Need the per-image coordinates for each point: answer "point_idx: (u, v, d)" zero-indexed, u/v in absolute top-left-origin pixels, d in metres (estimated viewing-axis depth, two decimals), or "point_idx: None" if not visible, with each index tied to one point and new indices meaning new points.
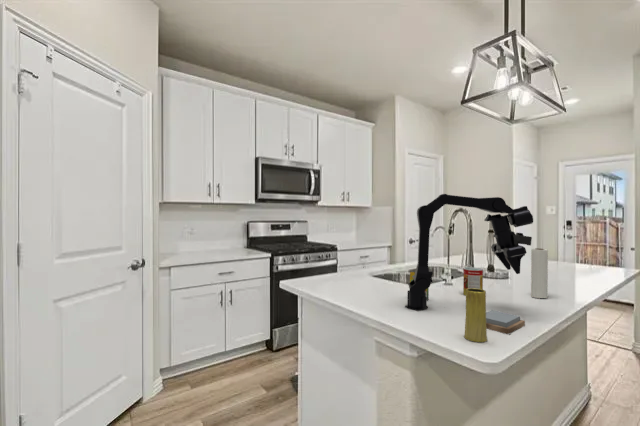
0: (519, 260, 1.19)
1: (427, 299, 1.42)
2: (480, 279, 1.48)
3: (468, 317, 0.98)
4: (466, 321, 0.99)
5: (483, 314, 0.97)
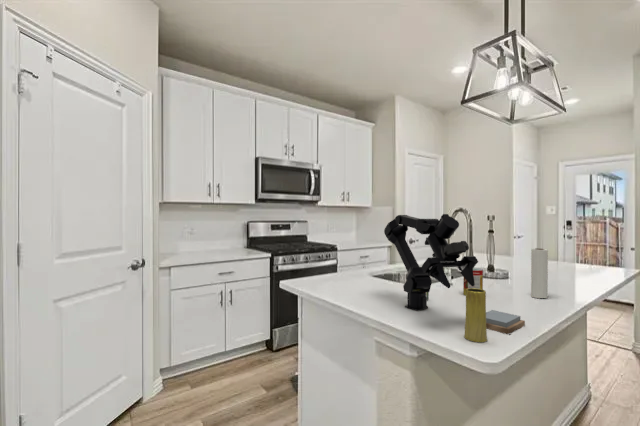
0: (440, 273, 1.08)
1: (427, 299, 1.42)
2: (480, 279, 1.48)
3: (468, 317, 0.98)
4: (466, 321, 0.99)
5: (483, 314, 0.97)
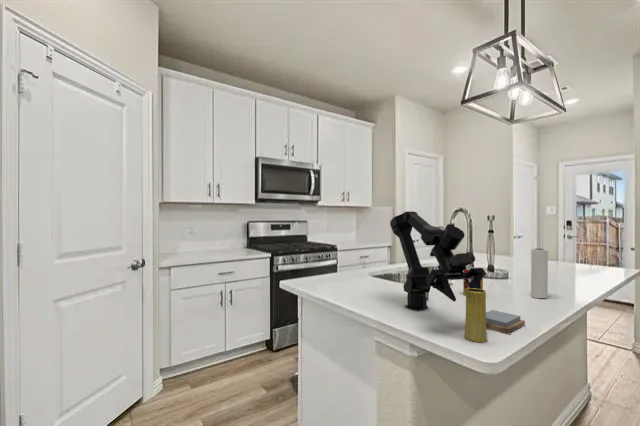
0: (445, 285, 1.03)
1: (427, 299, 1.42)
2: None
3: (468, 317, 0.98)
4: (466, 321, 0.99)
5: (483, 314, 0.97)
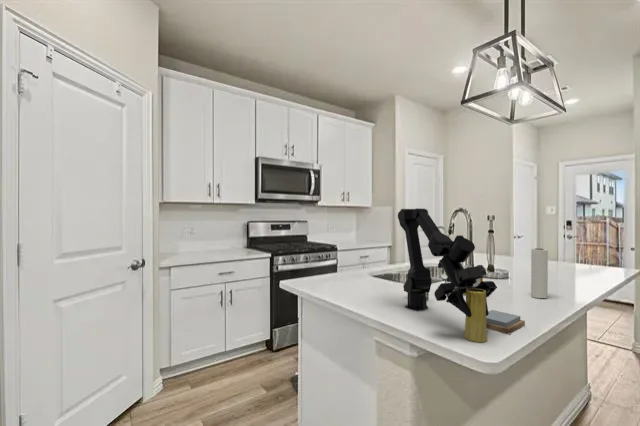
0: (459, 300, 0.99)
1: (427, 299, 1.42)
2: (480, 279, 1.48)
3: (468, 317, 0.98)
4: (466, 321, 0.99)
5: (483, 314, 0.97)
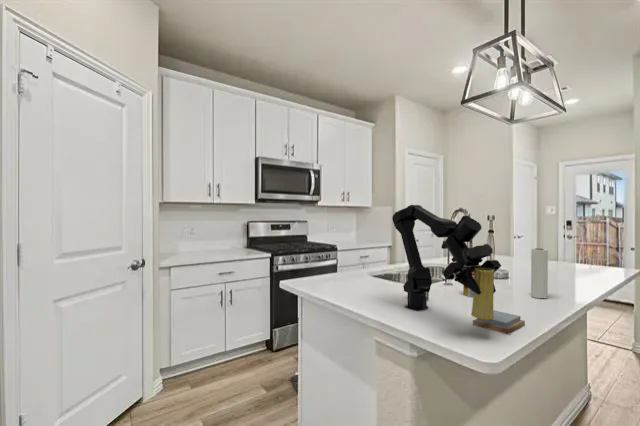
0: (469, 278, 1.01)
1: (427, 299, 1.42)
2: None
3: (477, 295, 1.00)
4: (474, 299, 1.01)
5: (491, 292, 0.99)
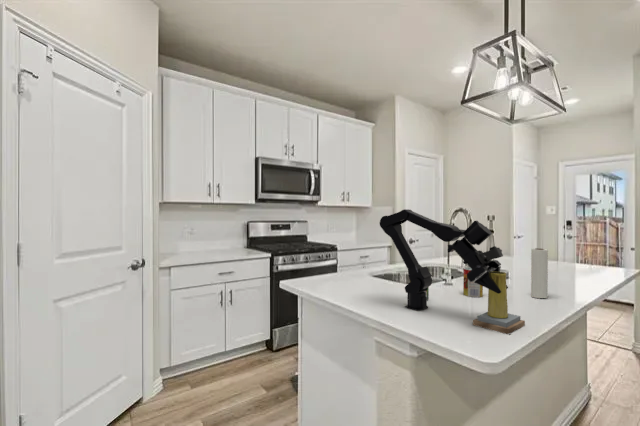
0: (489, 279, 1.08)
1: (427, 299, 1.42)
2: None
3: (496, 297, 1.09)
4: (493, 301, 1.10)
5: (506, 292, 1.10)
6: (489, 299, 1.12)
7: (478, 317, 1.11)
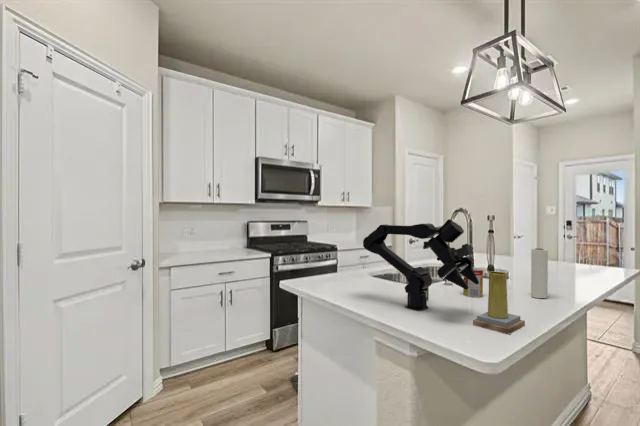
0: (457, 276, 1.14)
1: (427, 299, 1.42)
2: (480, 279, 1.48)
3: (496, 297, 1.09)
4: (493, 301, 1.10)
5: (506, 293, 1.10)
6: (489, 299, 1.11)
7: (478, 317, 1.11)
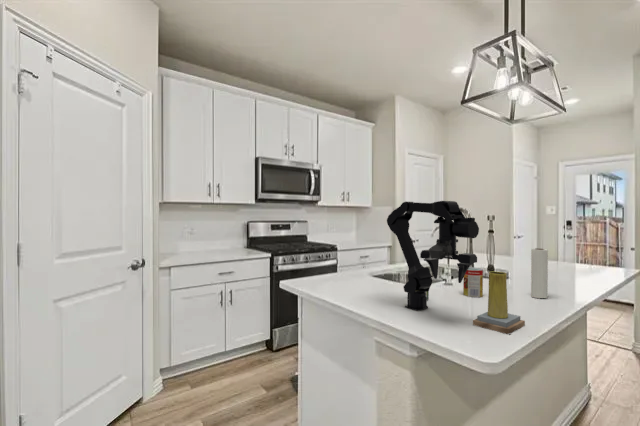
0: None
1: (427, 299, 1.42)
2: (480, 279, 1.48)
3: (496, 297, 1.09)
4: (493, 301, 1.10)
5: (506, 293, 1.10)
6: (489, 299, 1.11)
7: (478, 317, 1.11)
